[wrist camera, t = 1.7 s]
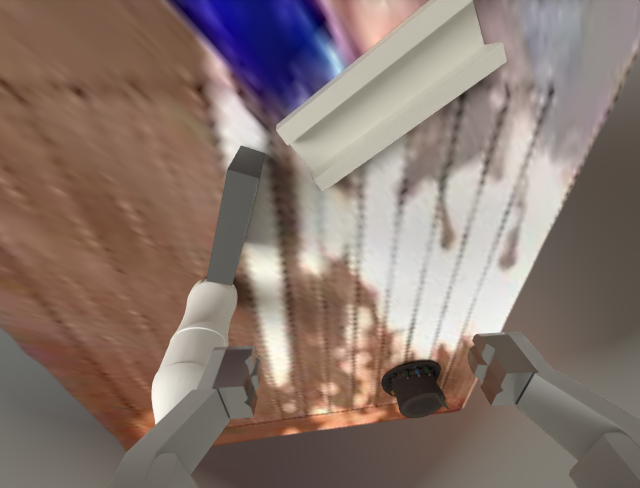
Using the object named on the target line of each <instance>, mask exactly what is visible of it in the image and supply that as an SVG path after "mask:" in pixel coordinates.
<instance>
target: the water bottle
mask: <svg viewBox="0 0 640 488" xmlns="http://www.w3.org/2000/svg"><path fill="white" fill-rule="evenodd" d="M206 280H207V279H204V278H203V279H201V280H199V281H198V282H197V283H196V284H195V285H194V287H193V288H192V290H191V292H190V294H189V296H188V300H187V307H186V311H185V315H184V317H183V320H182V322H181V324H180V326H179V328H178V329H177V331H176V333H175V334H174V336H173V337H172V339H171V341H170V344H169V347H168V349H167V352H166V354H165V356H164V359H163V361H162V364H161V366H160V368H159V371H158V372H157V373H156V375H155V377H154V381H153V384H152V404H153V411H154V416H155V425H156V424H157V423H158V422H159V421H160V420H161V419H162V418H163V417H164V416H165V415H166V414H167V413H169V412H170V411H171V410H172V409H173V408H174V407H175V406H176V405H177V404H178V403H179V402H180V401H181V400H182V399H183V398H184V397H185V396H186V395H187V394H188V393H189V392H190V391H191V390H196V389H197V387H198V384H199V381H200V379H201V376H202V374H203V371H204V369H205V366H206V364H207V361H208V359H209V356H210V353H211V351H212V350H213V349H214V347H227V346H228V328H229V324H230V320H231V317H232V315H233V313H234V310H235V308H236V305H237V290H236V288H235V285H234V284H233V285H232V286H230V285H225V284H219V283H214V282H208V281H206Z"/></svg>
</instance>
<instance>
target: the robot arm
mask: <svg viewBox="0 0 640 488" xmlns="http://www.w3.org/2000/svg"><path fill="white" fill-rule="evenodd" d="M472 341H473V343H474V346H473V347H471V348H470V349H469V352H468V363H469V366H470V368H471V370H472V372H473V374H474V376H476V377H477V378H478V379H480V380H481V381H482V382H481V388H482V390H483V392H484V394H485V396H486V397H487V399H488V401H489V403H490V404H491V406H500V405H501V406H505V405H517V406H516V407H517V408H518V409H519V410H520V411H522V412H523V413H524V414H525V415H526V416H527V417H529V418H530V419H531V420H532V421H533V422H534V423H535V424H537V425H538V426H539V427H540V428H541V429H542V430H543V431H545V432H546V433H547V434H548V435H549V436H550V437H552V438H553V439H554V440H555V441H556V442H557V443H558V444H560V445H561V446H562V447H563V448H564V449H565V450H566V451H568V452H569V453H570V454H571V455H572V456H573V457H575V458H576V459H577V460H578V462H577V463H576V465H575V466H573V468H572V469H571V470H570V473H569V476H570V477H571V479H572V480H573V482H574V483H575V485H576V487H577V488H640V419H638V418H637V417H635V416H633V415H632V414H630V413H628V412H627V411H625V410H623V409H622V408H620V407H618V406H616V405H615V404H613V403H611V402H610V401H608V400H606V399H605V398H603V397H601V396H600V395H598V394H596V393H595V392H593V391H591V390H590V389H587V388H586V387H584V386H583V385H581V384H579V383H578V382H576V381H574V380H573V379H571V378H569V377H568V376H566V375H564V374H563V373H561V372H555V371H554V370H553V369H552V367H551V366H550V365H549V364H548V363H547V362H546V360H545V359H544V358H543V357H542V356H541V355H540V353H539V352H538V351H537V350H536V349H535V348H534V346H533V345H532V344H531V343H530V342H529V341H528V340H527V338H526V337H525V336H524V335H523V334H522V333H520V332H507V333H503V332H501V333H485V334H476V335H475V336H474V338H473V340H472ZM257 352H258V351H257V348H256V346H227V347H214V349H213V350H212V351H211V353H210V356H209V359H208V361H207V364H206V366H205V369H204V371H203V374H202V376H201V379H200V381H199V384H198V387H197V389H196V390H191V391H190V392H189V393H188V394H187V395H186V396H185V397H184V398H183V399H182V400H181V401H180V402H179V403H178V404H177V405H176V406H175V407H174V408H173V409H172V410H171V411H170V412H169V413H167V414H166V415H165V416H164V417H163V418H162V419H161V420H160V421H159V422H158V423H157V424H156V425H155V426H154V427H153V428H152V429H151V430H150V431H149V432H148V433H147V434H146V435H144V436H143V437H142V438H141V439H140V440H139V441H138V442H137V443H136V444H135V445H134V446H133V447H132V448H131V449H130V450H129V451H128V452H127V453H126V454H125V456H124V458H123V460H122V462H121V464H120V465H119V467H118V469H117V471H116V473H115V475H114V477H113V479H112V481H111V483H110V485H109V487H108V488H199V487H198V486H197V484H196V482H195V481H194V480H193V478H192V477H191V473H192V472H193V470H194V469H195V468H196V466H197V465H198V464H199V462H200V461H201V460H202V458H203V457H204V455H205V454H206V453H207V451H208V450H209V449H210V447H211V446H212V444H213V443H214V442H215V440H216V439H217V437H218V436H219V435H220V433H221V432H222V431H223V429H224V428H225V426H226V425H227V424H228V422H229V421H230V420H229V419H236V418H249V417H254V412H255V407H256V402H257V395H256V392H255V390H256V389H257V388H258V387H259V386H260V380H261V363H260V359H258V358H257Z"/></svg>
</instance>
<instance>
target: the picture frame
mask: <svg viewBox="0 0 640 488" xmlns="http://www.w3.org/2000/svg"><path fill="white" fill-rule="evenodd" d="M264 155H265V153H262V152H259V151H256V150H253V149H250V148H247V147H244V146H240V148H239V150H238V152H237V153H236V155H235V157H234V159H233V161H232V162H231V164H230V166H229V168H228V169H227V175H226V180H225V185H224V190H223V196H222V201H221V206H220V212H219V217H218V222H217V227H216V233H215V238H214V243H213V248H212V254H211V259H210V264H209V269H208V275H207V280H206V281H208V282H214V283H219V284H225V285H230V286H232V285H233V281H234V277H235V273H236V269H237V266H238V264H239V260H240V256H241V252H242V248H243V244H244V240H245V236H246V232H247V229H248V225H249V221H250V217H251V213H252V209H253V205H254V201H255V197H256V193H257V189H258V184H259V179H260V174H261V169H262V164H263V159H264Z"/></svg>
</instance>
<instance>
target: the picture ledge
mask: <svg viewBox="0 0 640 488" xmlns="http://www.w3.org/2000/svg"><path fill="white" fill-rule="evenodd" d="M506 62H507V58H506V54H505V50H504V45H503V42H499V43H492V44H486V45H484V42H483V38H482V34H481V30H480V26H479V22H478V19H477V15H476V11H475V7H474V3H473V0H429V1H428V2H427V3H425V4H424V5H423V6H422V7H420V8H419V9H418V10H417V11H416V12H414V13H413V14H412V15H411V16H409V17H408V18H407V19H406V20H405V21H403V22H402V23H401V24H400V25H398V26H397V27H396V28H395V29H393V30H392V31H391V32H390V33H389V34H387V35H386V36H385V37H384V38H382V39H381V40H380V41H379V42H378V43H376V44H375V45H374V46H373V47H371V48H370V49H369V50H368V51H367V52H365V53H364V54H363V55H362V56H360V57H359V58H358V59H357V60H356V61H354V62H353V63H352V64H351V65H349V66H348V67H347V68H346V69H345V70H343V71H342V72H341V73H340V74H338V75H337V76H336V77H335V78H333V79H332V80H331V81H330V82H329V83H327V84H326V85H325V86H324V87H322V88H321V89H320V90H319V91H318V92H316V93H315V94H314V95H313V96H311V97H310V98H309V99H308V100H307V101H305V102H304V103H303V104H302V105H300V106H299V107H298V108H297V109H296V110H294V111H293V112H292V113H291V114H289V115H288V116H287V117H286V118H285V119H283V120H282V121H281V122H280V123H278V124H277V127H276V131H277V132H278V134H279V135H280V136H281V138H282V139H283V140H284V142H285V143H286V144H287V146H288V145H289V144H290V145H291V146H292V148H293V149H294V150H295V152H296V153H297V154H298V156H299V157H300V158H301V160H302V161H303V162H304V164H305V165H306V166H307V168H308V169H309V170H310V172H311V174H312V177H313V180H314V182H315V183H316V184H317V186H318V187H319V188H320V190H321V191H322V192H324V191H325V190H327V189H328V188H329V187H331V186H332V185H334V184H335V183H337V182H338V181H339V180H341V179H342V178H344V177H345V176H346V175H348V174H349V173H351V172H352V171H353V170H355V169H356V168H358V167H359V166H360V165H362V164H363V163H365V162H366V161H368V160H369V159H370V158H372V157H373V156H375V155H376V154H377V153H379V152H380V151H382V150H383V149H384V148H386V147H387V146H389V145H390V144H391V143H393V142H394V141H396V140H397V139H399V138H400V137H401V136H403V135H404V134H406V133H407V132H408V131H410V130H411V129H413V128H414V127H415V126H417V125H418V124H420V123H421V122H422V121H424V120H425V119H427V118H428V117H430V116H431V115H432V114H434V113H435V112H437V111H438V110H439V109H441V108H442V107H444V106H445V105H446V104H448V103H449V102H451V101H452V100H453V99H455V98H456V97H458V96H459V95H461V94H462V93H463V92H465V91H466V90H468V89H469V88H470V87H472V86H473V85H475V84H476V83H477V82H479V81H480V80H482V79H483V78H484V77H486V76H487V75H489V74H490V73H492V72H493V71H494V70H496V69H497V68H499V67H500V66H501V65H503V64H504V63H506Z"/></svg>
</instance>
